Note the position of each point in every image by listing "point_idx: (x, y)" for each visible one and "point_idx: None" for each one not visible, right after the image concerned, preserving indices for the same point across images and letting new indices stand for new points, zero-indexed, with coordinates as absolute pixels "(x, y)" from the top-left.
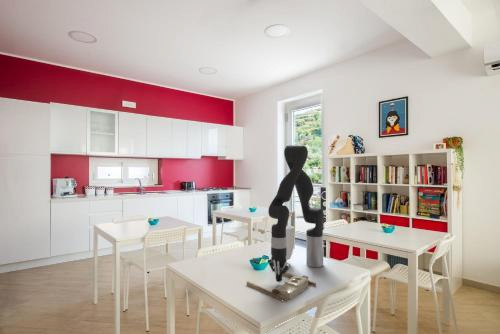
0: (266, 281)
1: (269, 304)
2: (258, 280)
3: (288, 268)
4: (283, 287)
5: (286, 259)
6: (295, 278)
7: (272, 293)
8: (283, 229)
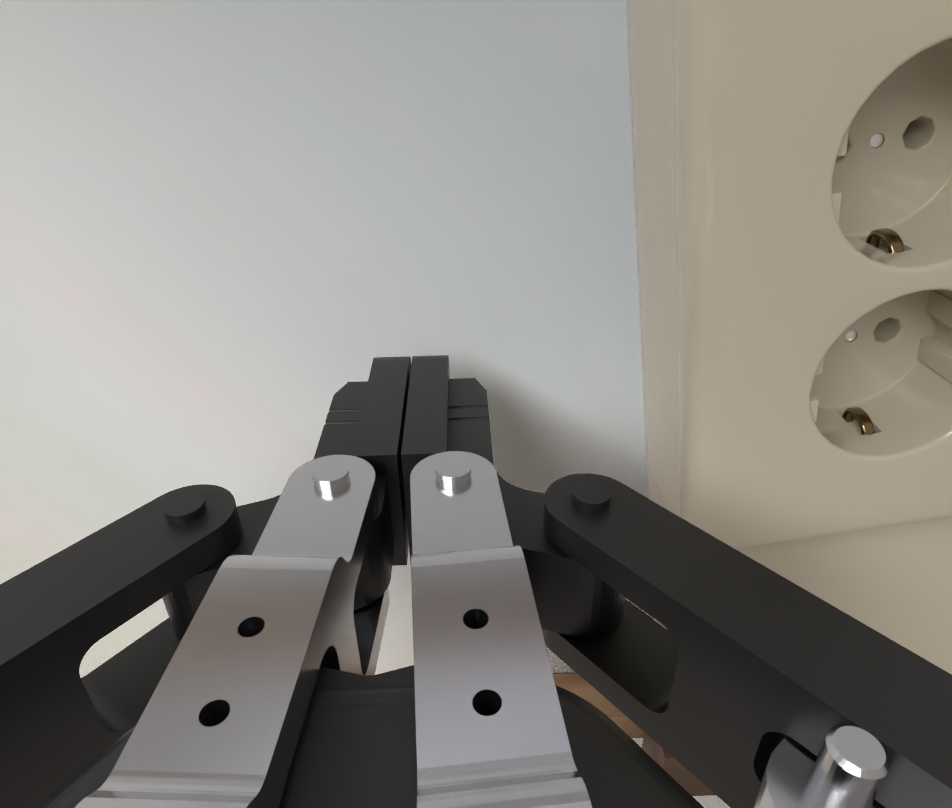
0: (137, 431)
1: (718, 802)
2: (8, 500)
3: (884, 669)
4: None
5: None
6: (826, 162)
7: (638, 727)
8: None
